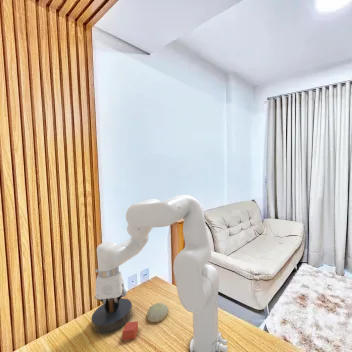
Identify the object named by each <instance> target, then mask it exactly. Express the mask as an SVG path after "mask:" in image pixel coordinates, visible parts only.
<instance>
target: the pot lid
mask: <svg viewBox="0 0 352 352" xmlns="http://www.w3.org/2000/svg"><path fill="white" fill-rule="evenodd" d="M113 304H114V298H109V299H108V305H109V311H108V312H107V313H106V310H105V306H104V304H103V303H102V304H101V305H100V306H99V307H97V308H96V310H94V312H93V313H92V315H91V322H92V325H93V324H95V325H97V326H106V325H110V324H113V323H115V322H117V321H119V320H121V319H122V318H124V317H125V316H126V315H127V314H128V313H129V312H130V310H131V311H132V308H133V303H132V301H131V300H130V299H128V298H123V297H121V299H120V300H119V308H117V310H116V311H115V312H114V306H113Z"/></svg>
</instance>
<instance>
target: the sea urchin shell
mask: <svg viewBox="0 0 352 352" xmlns="http://www.w3.org/2000/svg"><path fill="white" fill-rule="evenodd" d="M168 314H169V307H168V306H167V305H166V304H165V303H163V302H156V303H154V304H152V305H150V306H149V308H148V310H147V313H146V318H147V320H148V321H149V322H150V323H159V322H162V321H163V320H164V319H165V318H166V317H167V316H168Z"/></svg>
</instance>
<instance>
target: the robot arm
mask: <svg viewBox="0 0 352 352" xmlns="http://www.w3.org/2000/svg"><path fill="white" fill-rule="evenodd" d="M181 219H183V224H182V225H183V226H182V235H183V239H184V247H183V249H181V250H180V252H178V253H177V255H176V256H175V258H174V261H173V266H172V267H173V268H172V269H173V275H174V281H175V285H176V290H177V291H176V292H177V296H178V299H179V302H180V305H181V306H182V307H183V308H184V310H186V311H187V312H189V313H192V329H193V330H192V331H193V334H192V335H193V337H192V339H190V342H189V352H228V350H229V346H228V345H227V344H228V339H224V338H223V336H222V332H220V331H219V288H220V287H219V286H220V275H219V272H218V270H217V269H216V267H215V266H213V265H211V264H208V263H209V261H210V260H211V257H212V250H211V244H210V239H209V235H208V230H207V225H206V217H205V212H204V208H203V206H202V204H201V203H200V201H199V200H198V199H197V198H196V197H194V196H192V195H189V194H178V195H175V196H171V197H169V198H167V199H164V200H162V201H161V200H159V199H157V198H148V199H145V200H142V201H139V202H136V203H134V204H131V205H130V206H129V207H128V208H127V210H126V213H125V220H126V223H127V227H126V231H127V234H128V235H129V236H130V238H128V240H126V241H124V242H122V243H120V244H117V242H116V241H111V240H109V241H105V242H102V243H100V244H98V245H97V247H96V259H97V268H96V269H95V270H94V272H95V273H97V276H96V280H95V295H94V299H95V300H99V301H100V302H101V303H102V305H103V304H104V306H105V310H106V313H107V312H108V311H109V305H108V299H109V298H114V304H113V306H114V312H115V311H116V310H117V308H119V300H120V299H121V298H123V297H125V296H127V294H128V292H127V290H126V289H125V282H124V278H123V277H124V276H123V274H122V271H121V270H120V266H122V265H123V264H125V263H127V262H128V261H129V260H131V259H133V258H134V257H135V256H137V255H138V254H139V253H140V252H141V251H142V250H143V249H144V247H145V246H146V245H147V243H148V242H149V241H148V240H149V234H150V232H152V229H154V228H165V227H169V226H171V225H174V224H175V223H177V222H178V221H180V220H181Z"/></svg>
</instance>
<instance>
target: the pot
mask: <svg viewBox="0 0 352 352" xmlns="http://www.w3.org/2000/svg"><path fill="white" fill-rule="evenodd" d="M132 315H133V313H132V309H131V310H130V312H129V313H128V314H127V315H126V316H125V317H124V318H122V319H121V320H119V321H117V322H115V323H113V324H110V325H106V326H97V325H95V324H93V323H92V327H93V331H94V332H95V333H96V334H98V335H106V334H112V333H114V332H116V331H119V330H120V329H122V328H124V327H125V325H126V323H127V322H130V320H131V319H132Z"/></svg>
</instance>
